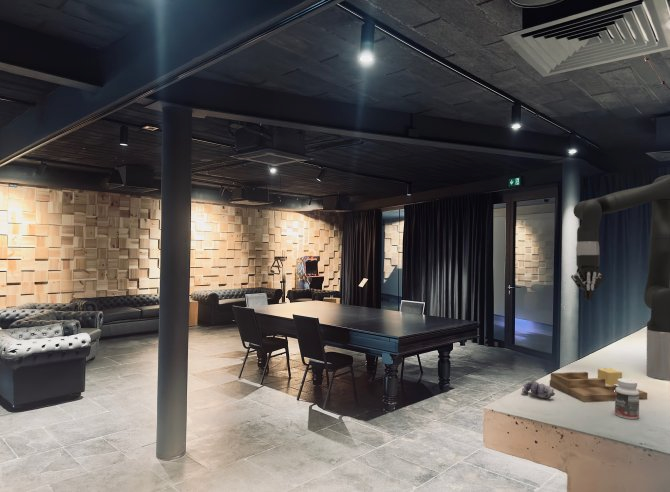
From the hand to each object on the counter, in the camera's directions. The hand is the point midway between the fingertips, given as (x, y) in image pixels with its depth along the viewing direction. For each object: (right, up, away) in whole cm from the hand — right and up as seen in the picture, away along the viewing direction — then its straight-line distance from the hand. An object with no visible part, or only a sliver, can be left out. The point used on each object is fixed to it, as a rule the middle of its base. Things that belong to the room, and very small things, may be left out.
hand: (588, 300), depth 170 cm
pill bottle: (-12, -28, -42) cm, 52 cm away
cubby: (-13, -26, -18) cm, 34 cm away
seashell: (-30, -28, -26) cm, 48 cm away
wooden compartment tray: (-9, -28, -20) cm, 36 cm away
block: (-2, -26, -16) cm, 30 cm away
